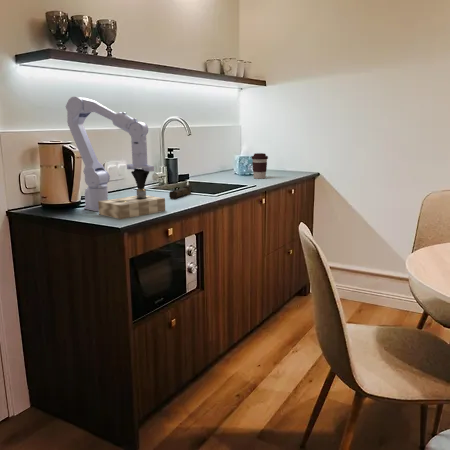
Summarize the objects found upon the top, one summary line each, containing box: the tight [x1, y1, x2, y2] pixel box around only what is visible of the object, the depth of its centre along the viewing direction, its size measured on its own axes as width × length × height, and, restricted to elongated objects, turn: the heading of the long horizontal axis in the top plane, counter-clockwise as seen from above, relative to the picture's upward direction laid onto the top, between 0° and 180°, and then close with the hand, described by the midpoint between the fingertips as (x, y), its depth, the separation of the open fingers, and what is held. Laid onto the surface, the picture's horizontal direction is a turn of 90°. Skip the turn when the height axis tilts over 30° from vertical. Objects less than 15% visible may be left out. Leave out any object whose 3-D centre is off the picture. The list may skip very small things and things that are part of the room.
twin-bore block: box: [98, 194, 166, 220], centre depth 181 cm, size 14×21×5 cm, turn 138°
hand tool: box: [168, 184, 192, 200], centre depth 221 cm, size 19×4×5 cm, turn 156°
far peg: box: [135, 188, 147, 200], centre depth 184 cm, size 4×4×4 cm
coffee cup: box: [251, 152, 269, 180], centre depth 286 cm, size 10×10×15 cm
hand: (141, 188), depth 183 cm, fingers closed
